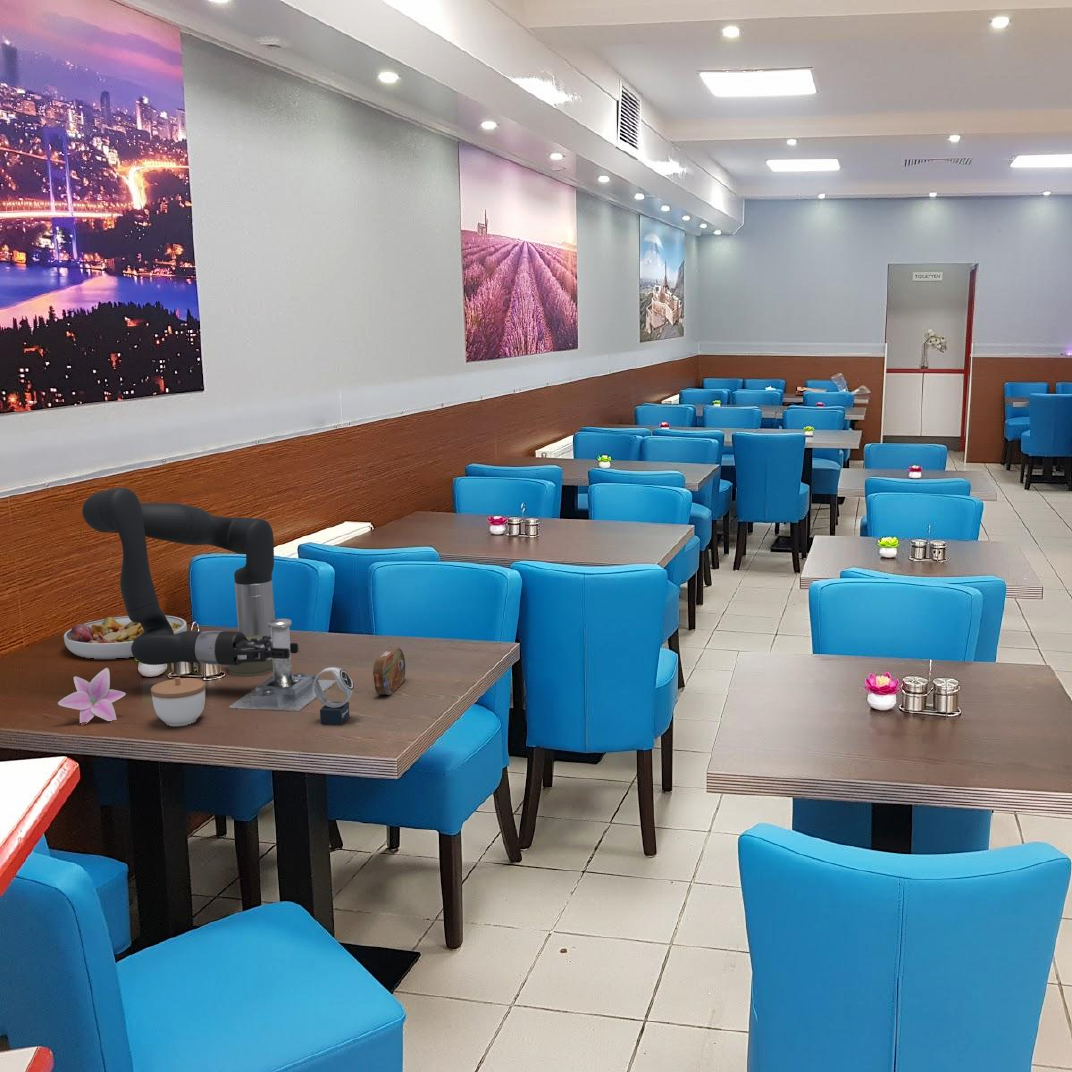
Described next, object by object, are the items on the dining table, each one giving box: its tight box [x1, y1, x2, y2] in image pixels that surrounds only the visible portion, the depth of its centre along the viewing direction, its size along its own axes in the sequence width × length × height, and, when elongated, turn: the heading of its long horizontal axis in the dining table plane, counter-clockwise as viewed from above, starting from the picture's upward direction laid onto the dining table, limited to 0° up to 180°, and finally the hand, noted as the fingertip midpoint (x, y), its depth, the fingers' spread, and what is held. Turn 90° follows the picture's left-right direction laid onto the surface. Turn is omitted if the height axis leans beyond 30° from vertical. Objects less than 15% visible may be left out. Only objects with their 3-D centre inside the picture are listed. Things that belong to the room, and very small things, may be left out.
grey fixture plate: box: [228, 672, 337, 712], centre depth 258 cm, size 21×16×3 cm
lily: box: [57, 667, 127, 724], centre depth 245 cm, size 12×12×10 cm
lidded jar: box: [150, 676, 206, 727], centre depth 241 cm, size 11×11×9 cm
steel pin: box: [268, 618, 293, 687], centre depth 257 cm, size 5×5×15 cm
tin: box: [372, 647, 406, 696], centre depth 260 cm, size 15×3×8 cm, turn 168°
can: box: [227, 635, 273, 677], centre depth 278 cm, size 12×12×7 cm
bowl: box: [63, 615, 188, 660], centre depth 303 cm, size 30×30×8 cm
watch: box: [313, 666, 355, 726], centre depth 239 cm, size 6×8×11 cm
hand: (293, 650), depth 256 cm, fingers closed on steel pin, 4 cm apart
